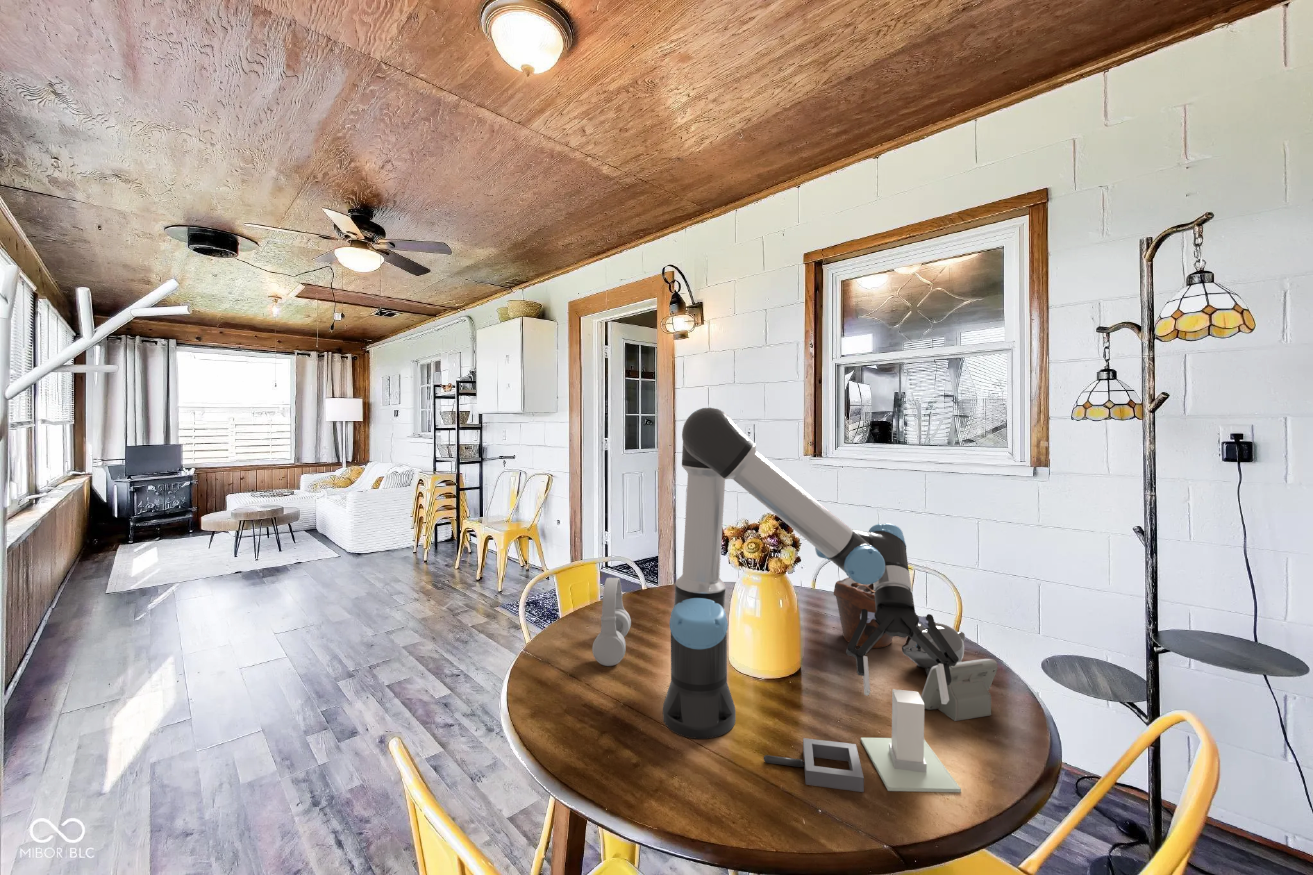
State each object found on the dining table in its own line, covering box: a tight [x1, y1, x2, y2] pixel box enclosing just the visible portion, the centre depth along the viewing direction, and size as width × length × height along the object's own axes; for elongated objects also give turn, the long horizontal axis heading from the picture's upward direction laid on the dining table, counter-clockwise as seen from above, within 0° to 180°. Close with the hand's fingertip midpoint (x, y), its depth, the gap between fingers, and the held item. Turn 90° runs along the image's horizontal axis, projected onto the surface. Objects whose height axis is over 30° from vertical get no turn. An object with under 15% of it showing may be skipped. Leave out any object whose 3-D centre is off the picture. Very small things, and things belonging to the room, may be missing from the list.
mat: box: [860, 737, 962, 793], centre depth 99 cm, size 12×14×1 cm
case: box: [833, 576, 894, 649], centre depth 152 cm, size 18×20×18 cm
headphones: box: [592, 577, 632, 667], centre depth 147 cm, size 20×8×19 cm, turn 178°
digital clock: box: [920, 658, 999, 722], centre depth 116 cm, size 16×9×11 cm, turn 92°
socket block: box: [763, 737, 865, 793], centre depth 98 cm, size 17×9×2 cm, turn 78°
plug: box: [889, 688, 927, 773], centre depth 98 cm, size 5×5×12 cm
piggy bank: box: [901, 622, 966, 677], centre depth 133 cm, size 11×15×12 cm
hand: (905, 697), depth 103 cm, fingers open, 13 cm apart
